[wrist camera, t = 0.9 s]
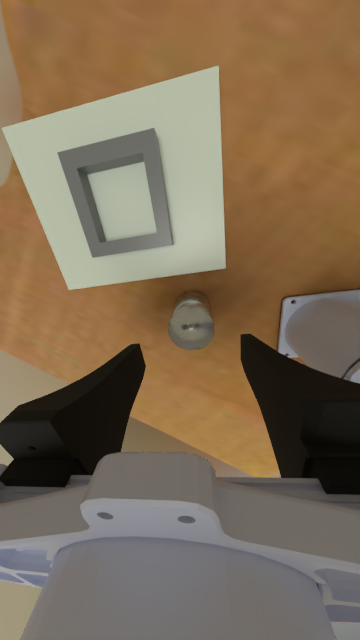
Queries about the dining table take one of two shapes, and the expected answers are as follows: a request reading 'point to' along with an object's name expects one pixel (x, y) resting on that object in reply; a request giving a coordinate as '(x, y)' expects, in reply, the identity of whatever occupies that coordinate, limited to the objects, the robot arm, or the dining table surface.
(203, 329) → the key peg
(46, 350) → the dining table surface
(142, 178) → the socket
